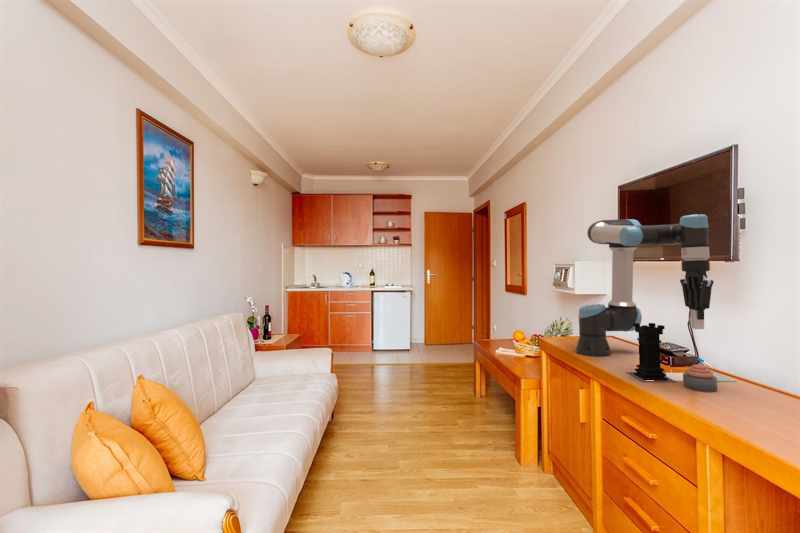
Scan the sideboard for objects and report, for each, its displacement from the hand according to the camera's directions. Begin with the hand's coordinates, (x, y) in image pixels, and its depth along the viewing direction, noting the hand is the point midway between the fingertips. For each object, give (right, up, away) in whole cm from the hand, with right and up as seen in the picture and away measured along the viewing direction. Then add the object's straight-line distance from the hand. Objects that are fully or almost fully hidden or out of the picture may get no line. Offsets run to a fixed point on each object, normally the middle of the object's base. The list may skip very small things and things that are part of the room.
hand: (697, 328), depth 125 cm
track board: (+3, -20, +12) cm, 24 cm away
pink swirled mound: (0, -16, 0) cm, 16 cm away
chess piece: (-8, -21, +13) cm, 26 cm away
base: (+1, -20, 0) cm, 20 cm away
